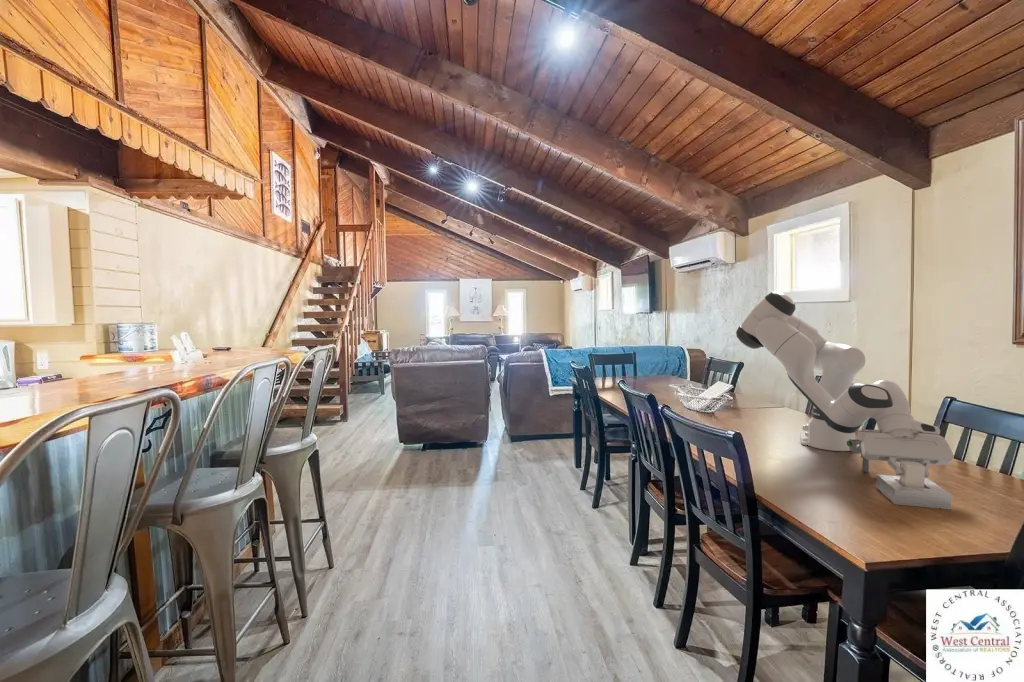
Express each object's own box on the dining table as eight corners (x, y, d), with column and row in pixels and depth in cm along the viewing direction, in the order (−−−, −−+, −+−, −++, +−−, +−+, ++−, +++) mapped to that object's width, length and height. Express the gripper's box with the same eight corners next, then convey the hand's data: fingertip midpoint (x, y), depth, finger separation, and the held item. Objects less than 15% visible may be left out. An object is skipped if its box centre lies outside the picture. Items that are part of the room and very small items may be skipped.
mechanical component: (886, 474, 149) (887, 442, 148) (849, 472, 151) (850, 441, 150) (880, 471, 152) (881, 440, 151) (844, 469, 154) (845, 439, 153)
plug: (899, 488, 133) (900, 460, 132) (916, 490, 131) (917, 462, 131) (905, 494, 129) (906, 465, 128) (923, 495, 127) (925, 466, 127)
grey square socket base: (876, 488, 138) (876, 474, 137) (927, 492, 134) (928, 478, 134) (894, 504, 126) (895, 489, 126) (950, 509, 122) (951, 494, 122)
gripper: (858, 423, 139) (870, 466, 130) (946, 427, 132) (964, 473, 124) (853, 434, 143) (864, 477, 135) (937, 439, 137) (954, 484, 128)
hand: (912, 475), depth 129 cm, fingers closed on plug, 4 cm apart
